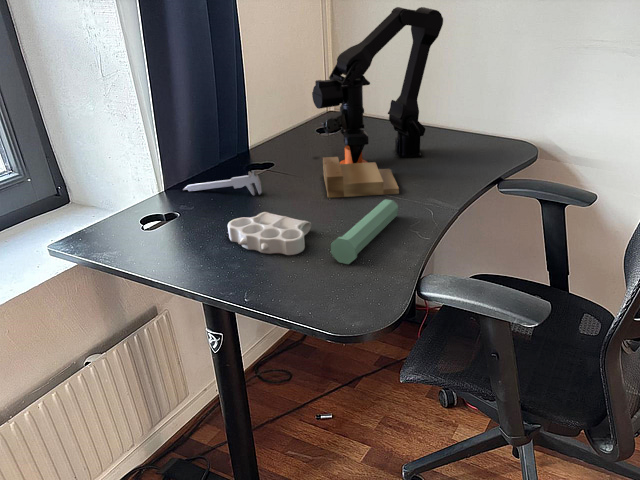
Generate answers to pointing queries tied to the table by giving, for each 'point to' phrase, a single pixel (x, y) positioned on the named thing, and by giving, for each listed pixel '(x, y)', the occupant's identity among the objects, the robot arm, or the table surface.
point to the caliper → (230, 183)
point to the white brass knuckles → (269, 233)
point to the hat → (349, 159)
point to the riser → (357, 179)
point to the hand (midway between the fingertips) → (353, 159)
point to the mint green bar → (363, 232)
